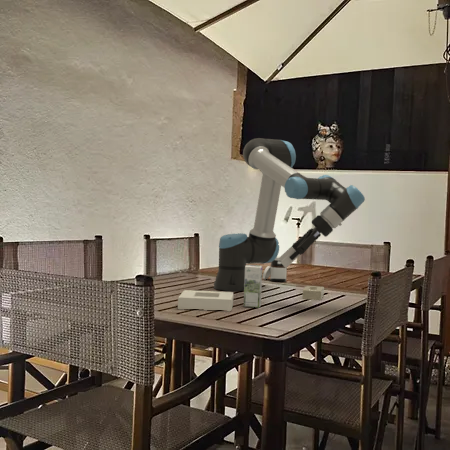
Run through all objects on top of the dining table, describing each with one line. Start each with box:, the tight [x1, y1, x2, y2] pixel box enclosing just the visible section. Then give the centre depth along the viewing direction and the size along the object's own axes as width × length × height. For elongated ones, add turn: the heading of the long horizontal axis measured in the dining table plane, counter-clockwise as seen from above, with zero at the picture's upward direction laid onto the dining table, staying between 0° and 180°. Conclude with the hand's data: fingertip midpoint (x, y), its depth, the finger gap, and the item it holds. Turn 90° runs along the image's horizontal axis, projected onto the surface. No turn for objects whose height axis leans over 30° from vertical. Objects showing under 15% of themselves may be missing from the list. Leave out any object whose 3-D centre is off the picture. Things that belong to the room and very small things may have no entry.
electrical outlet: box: [302, 285, 325, 301], centre depth 220 cm, size 7×4×18 cm
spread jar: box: [262, 255, 288, 283], centre depth 262 cm, size 12×11×12 cm
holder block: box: [177, 289, 235, 312], centre depth 191 cm, size 18×16×4 cm
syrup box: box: [243, 264, 263, 309], centre depth 193 cm, size 6×6×14 cm
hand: (281, 263), depth 192 cm, fingers open, 13 cm apart
